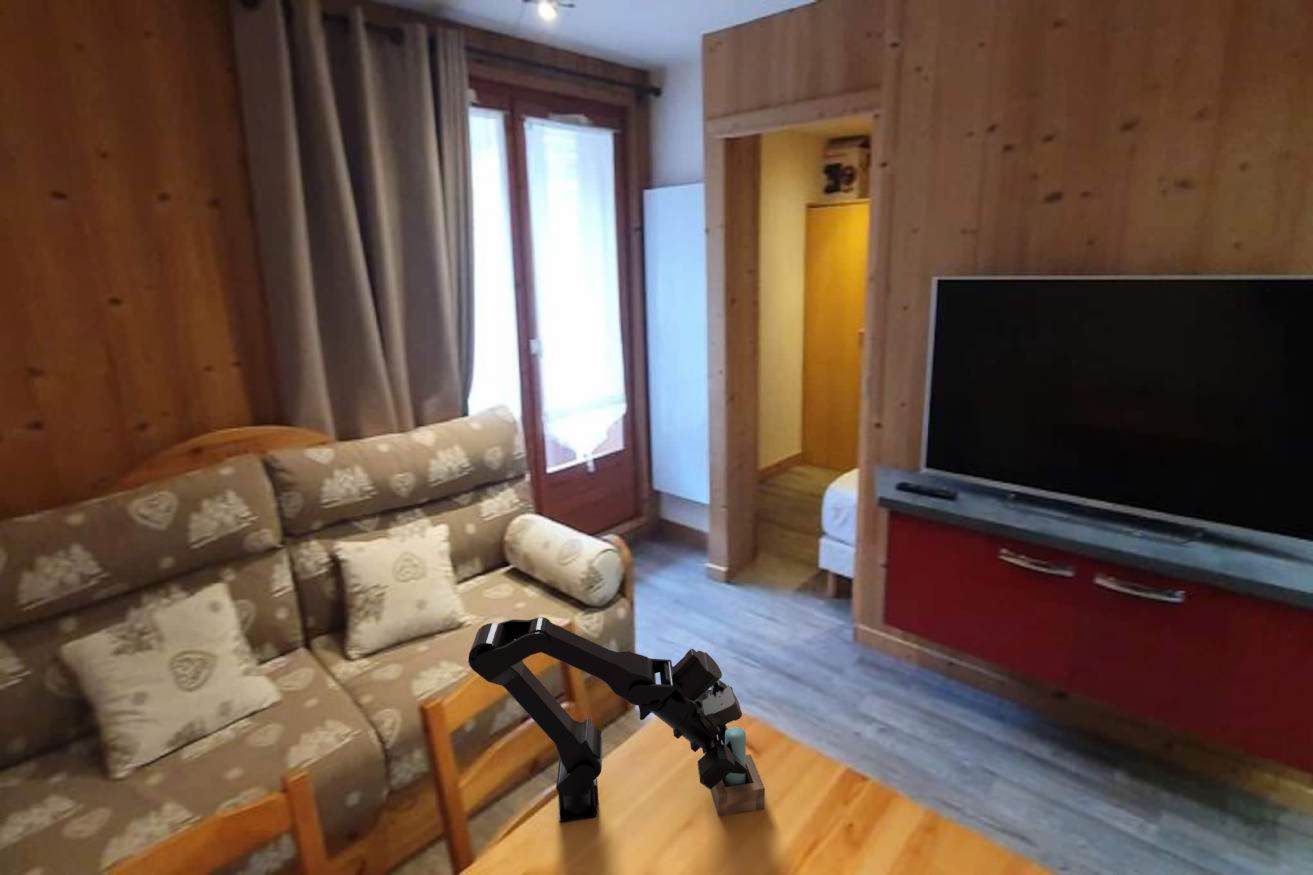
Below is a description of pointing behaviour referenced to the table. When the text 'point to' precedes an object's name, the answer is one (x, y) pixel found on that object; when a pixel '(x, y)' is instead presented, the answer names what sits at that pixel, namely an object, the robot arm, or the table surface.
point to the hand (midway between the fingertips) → (743, 761)
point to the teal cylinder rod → (736, 754)
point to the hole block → (740, 793)
